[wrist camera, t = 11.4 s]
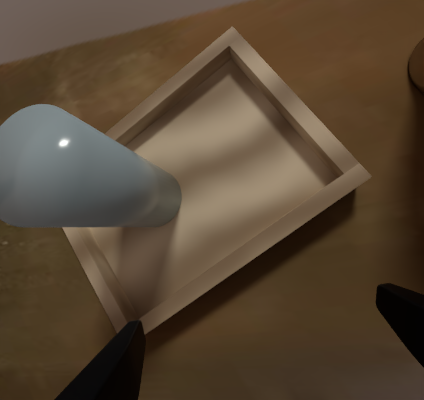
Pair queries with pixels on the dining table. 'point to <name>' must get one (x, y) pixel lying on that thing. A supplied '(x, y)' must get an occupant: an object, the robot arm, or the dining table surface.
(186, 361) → the dining table surface
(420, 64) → the beer glass
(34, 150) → the dome-topped blue cylinder
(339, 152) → the tray
